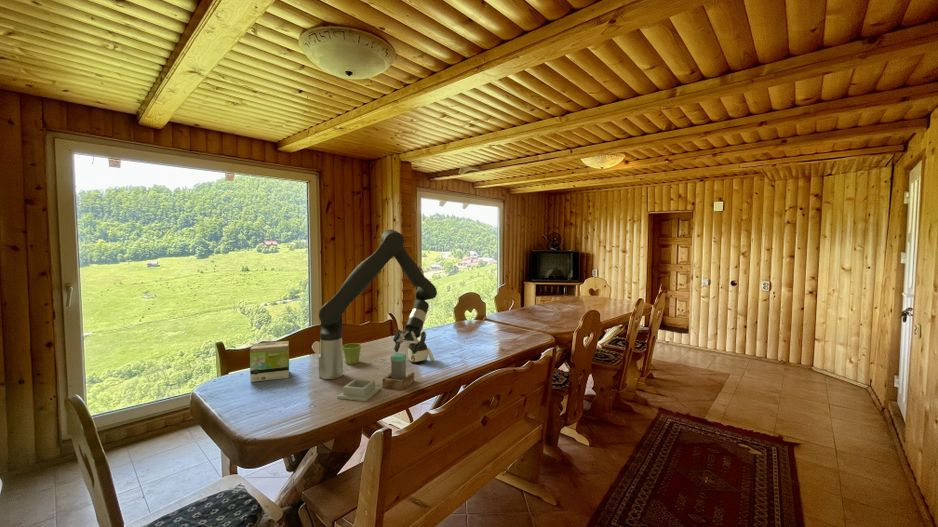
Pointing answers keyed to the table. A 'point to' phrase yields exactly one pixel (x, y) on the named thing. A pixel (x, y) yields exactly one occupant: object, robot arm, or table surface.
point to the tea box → (269, 361)
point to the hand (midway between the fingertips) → (404, 352)
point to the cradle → (397, 382)
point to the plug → (398, 366)
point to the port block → (359, 390)
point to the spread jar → (419, 353)
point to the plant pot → (352, 352)
